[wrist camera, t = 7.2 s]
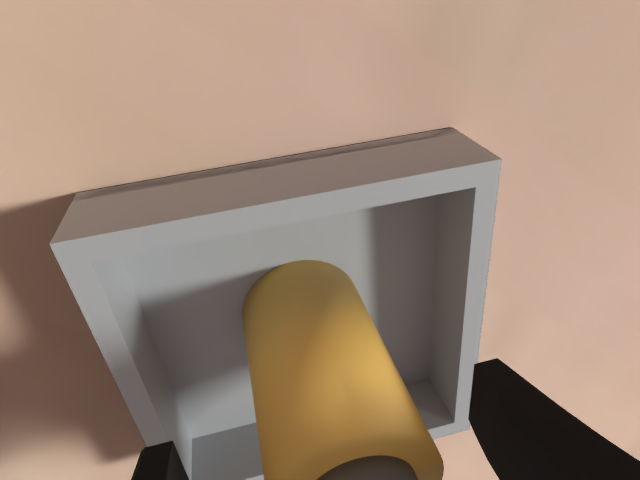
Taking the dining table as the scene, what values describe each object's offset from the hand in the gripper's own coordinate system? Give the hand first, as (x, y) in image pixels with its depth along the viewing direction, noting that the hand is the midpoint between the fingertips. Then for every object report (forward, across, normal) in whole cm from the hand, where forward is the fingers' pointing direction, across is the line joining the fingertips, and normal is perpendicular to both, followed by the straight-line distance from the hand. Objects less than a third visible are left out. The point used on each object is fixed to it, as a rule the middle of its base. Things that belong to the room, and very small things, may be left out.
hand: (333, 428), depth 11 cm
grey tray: (+5, 0, 0) cm, 5 cm away
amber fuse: (+4, 0, 0) cm, 4 cm away
